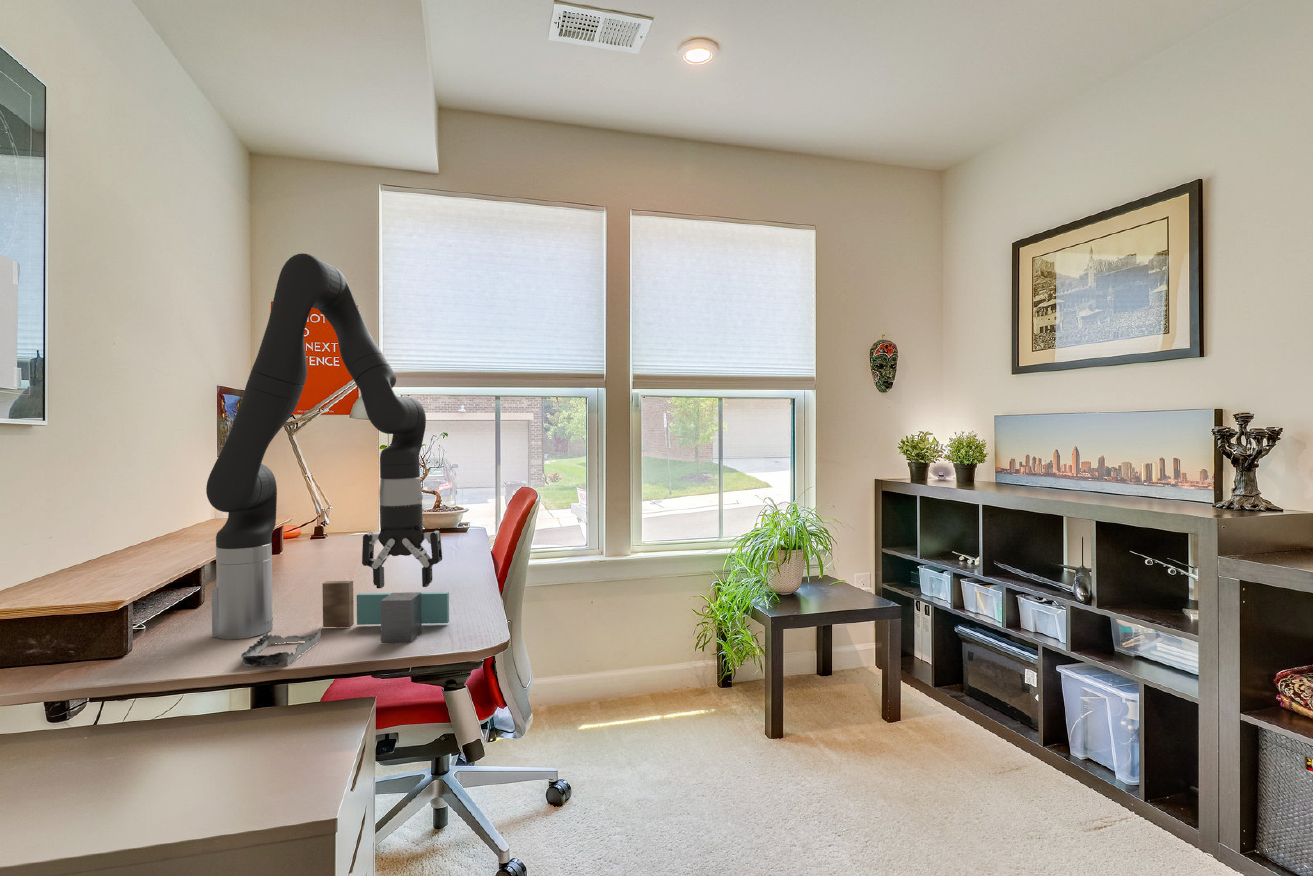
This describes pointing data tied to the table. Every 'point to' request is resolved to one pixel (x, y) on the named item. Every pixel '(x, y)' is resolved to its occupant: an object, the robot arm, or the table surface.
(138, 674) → the table surface
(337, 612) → the wall frame
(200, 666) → the table surface
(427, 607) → the door
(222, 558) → the robot arm
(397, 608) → the block
